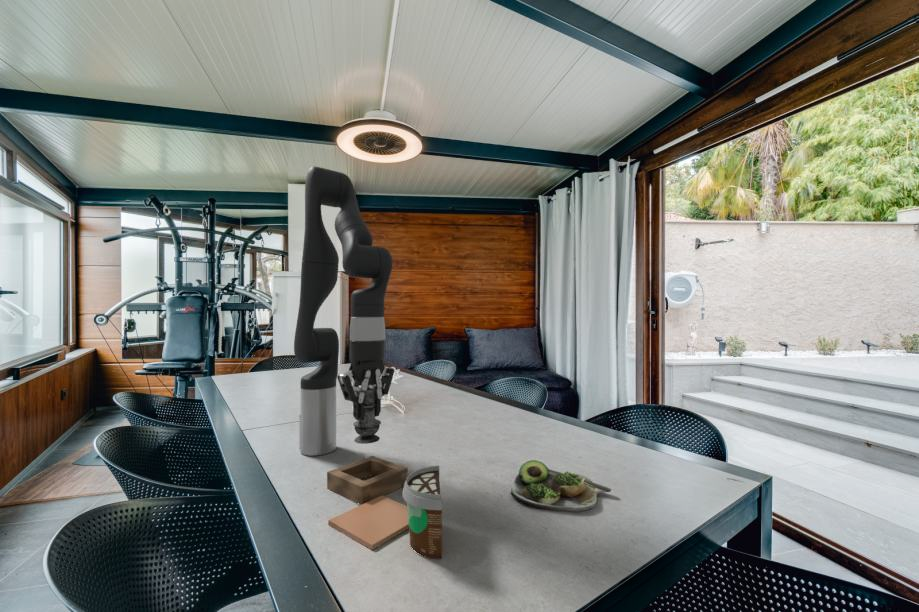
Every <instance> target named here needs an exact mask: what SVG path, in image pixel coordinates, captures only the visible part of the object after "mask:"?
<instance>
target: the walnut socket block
mask: <svg viewBox="0 0 919 612" xmlns="http://www.w3.org/2000/svg"><path fill="white" fill-rule="evenodd" d="M408 471H409V469H408V467H407V466H406V467H405V466H402V465H400V464H397V463H394V462H391V461H388V460H386V459H383V458H379V457H377V456H374V455H371V456H368V457H365V458H363V459H360V460H356V461H354V462H352V463H349V464H345V465H343V466H341V467H338V468H334V469H331V470H328V471H326V489H328V490H330V491H332V492H334V493H335V494H337V495H340V496H341V495H342V496H341V497H344V498H345V499H348V500H350V501H352V502H354V503H356V504H358V503H359V504H358V505H359V506H360V505H362V504H364V503H367V502H369V501H371V500H373V499H375V498H377V497H379V496H385V495H389V494H390V493H392V492H394V490H395V491H397V490H399V489H401V488H404V484H405V481H406V479H407V477H408V476H409V475H408V474H409V472H408ZM373 476H374V477H373ZM366 477H367V478H368V477H371V478H368V479H366ZM363 478H364V479H366V480H364V479H363ZM361 479H362V480H361Z"/></svg>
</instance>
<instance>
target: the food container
mask: <svg viewBox="0 0 919 612" xmlns="http://www.w3.org/2000/svg"><path fill="white" fill-rule="evenodd" d="M440 485H441V482H440V465H432V466H426V467H422V468H419V469H416V470H415V471H414V470H413V471H412V472H411V473H410V474H409V475H408V477H407V479H406V481H405V484H404V486H403V487H402V488H403V489H402V498H403V500H404V501H405V502H406V503H407V505H406V506H407V508H408V521H409V529H408V532H409V545H411V546H410V548H411V547H412V548H413V550H415V551H416V552H417V553H419V554H421V555H423V556H422V557H424V556H426V557H425V558H427V557H429V558H428V559H435V560H437V559H439V560H441V559H442V558H443V495H442V494H441V488H440V487H441V486H440ZM412 548H411V549H412ZM413 550H412V551H413ZM417 553H416V554H417ZM419 554H418V555H419ZM421 555H420V556H421Z"/></svg>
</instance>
